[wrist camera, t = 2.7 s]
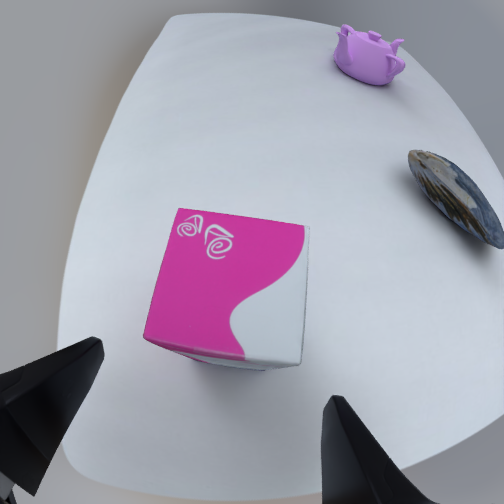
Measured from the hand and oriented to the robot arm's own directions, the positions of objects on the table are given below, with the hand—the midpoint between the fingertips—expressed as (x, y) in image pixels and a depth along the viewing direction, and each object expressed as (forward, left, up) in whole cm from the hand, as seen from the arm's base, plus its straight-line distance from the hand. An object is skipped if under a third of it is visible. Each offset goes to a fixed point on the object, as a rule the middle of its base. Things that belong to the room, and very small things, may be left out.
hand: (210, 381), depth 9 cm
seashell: (+29, -8, -11) cm, 32 cm away
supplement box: (+3, +2, -11) cm, 11 cm away
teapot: (+48, +16, -11) cm, 52 cm away
